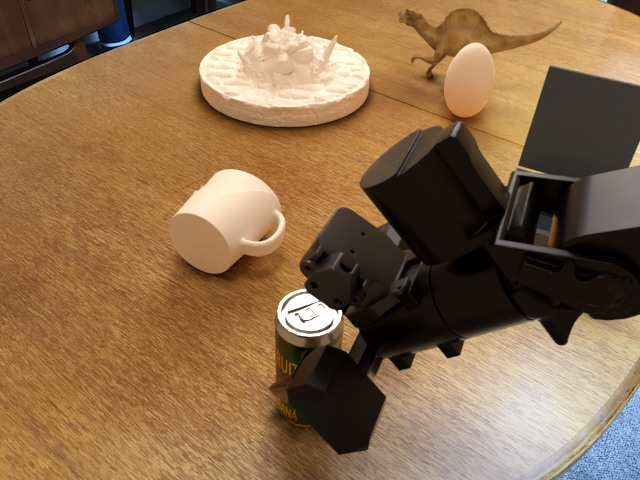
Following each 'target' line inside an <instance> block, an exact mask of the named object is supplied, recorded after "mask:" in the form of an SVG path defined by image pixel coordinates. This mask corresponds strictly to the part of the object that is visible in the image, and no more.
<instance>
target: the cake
mask: <svg viewBox="0 0 640 480" xmlns="http://www.w3.org/2000/svg"><path fill="white" fill-rule="evenodd" d="M290 25H291V19H290V15H289V14H286V15H285V18H284V24H283V27H282V28H281V27H280V26H279V25H278V24H276V23H270V24H269V25H268V26H267V31H266V32H265V34H261V35H253V34H251V36H246V37H241V38H237V39H234V40H230V41H228V42H225V43H224V44H221V45H218V46H216V47H215V48H214V49H212V50H211V51H209V52H208V53H207V54H206V55H205V56H204V57H203V58H202V60H201V62H200V63H199V68H198V74H199V77H200V88H201V93H202V95H203V98H204V99H205V100H206V102H207V103H208V104H209V105H210V106H211V107H212V108H213V109H215V110H217V111H218V112H220V113H222V114H223V115H224V116H228V117H230V118H232V119H234V120H235V119H236V120H238V121H242V122H244V123H249V124H254V125H259V126H267V127H277V128H280V127H282V128H297V127H298V128H300V127H309V126H316V125H321V124H325V123H330V122H333V121H337V120H339V119H342V118H344V117H346V116H349V115H350V114H352V113H354V112H356V111H357V110H358V109H359V108H360V107H361V106H363V104H365V102H366V100H367V98H368V95H369V91H370V76H371V70H370V67H369V65H368V62H367V60H366V58H364V57H363V55H361V54H359V52H355V51H354V49H353V48H351V47H347V46H344V45H342V44H340V43H339V42H337V40H338V35H337V34H336V35H334V37H333V38H332V39H331V40H330V39H326V38H323V37H318V36H315V35H313V36H312V35H309V36H307V35H305V34H304V30H301V32H300V33H297V32H296V31H297V29H296V28H295V27H294V26H290Z"/></svg>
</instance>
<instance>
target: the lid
mask: <svg viewBox="0 0 640 480" xmlns="http://www.w3.org/2000/svg"><path fill="white" fill-rule="evenodd" d="M639 145H640V84H636V83H631V82H627V81H624V80H619V79H614V78H611V77H610V78H609V77H605V76H601V75H597V74H592V73H587V72H583V71H579V70H574V69H570V68H565V67H560V66H558V65H557V66H556V65H552V64H550V65H549V66H548V68H547V72H546V75H545V79H544V82H543V85H542V88H541V91H540V94H539V97H538V100H537V103H536V107H535V110H534V113H533V116H532V119H531V123H530V125H529V129H528V132H527V134H526V137H525V141H524V145H523V148H522V150H521V154H520V157H519V160H518V164H517V166H518V167H522V168H525V169H528V170H532V171H535V172H537V173H543V174H551V175H559V176H567V177H575V178H584V177H588V176H591V175H595V174H600V173H605V172H610V171H614V170H619V169H624V168H629V167H631V163H632V161H633V158H634V156H635V154H636V152H637V150H638V147H639Z"/></svg>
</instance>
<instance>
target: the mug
mask: <svg viewBox="0 0 640 480" xmlns="http://www.w3.org/2000/svg"><path fill="white" fill-rule="evenodd" d="M286 224H287V223H286V219H285V217H284V215H283V210H282V205H281V202H280V200H279V198H278V196H277V194H276V193H275V192H274V190H273V189H271V187H270V186H269V185H268V184H267V183H266V182H264V181H263V180H262V179H260V178H258V177H257V176H255V175H253V174H251V173H249V172H246V171H244V170H240V169H232V168H230V169H229V168H228V169H222V170H219V171H217V172H215V173H214V174H213V175H212V176H211V178H210V179H208V181H207V182H206V183H205V184H204V185H203V184H201V186H200V188H199V190H197V189H195V190H194V191H193V193H192V195H191V196H190V197H189V199H187V201H186V202H185V203H184V204H183V205H182V206H181V208H179V210H178V211H177V212H176V213H175V214H174V215H173V216H172V217H171V219H170V220H169V223H168V235H169V239H170V242H171V244H172V245H173V247H174V249H175V251H176V252H177V253H178V254H179V256H180V257H181V258H182V259H183V260H184V261H186V262H187V263H188V264H189V265H191V266H192V267H194V268H195V269H198V270H199V271H202V272H205V273H207V274H212V275H213V274H214V275H215V274H216V275H217V274H222V273H224V272H226V271H227V270H229V269H230V268H231V267H232V266H233V265H234V264H235V263H236V262H238V260H239V259H240V258H242V257H243V256H244V255H246V256H250V257H258V258H259V257H265V256H268V255H270V254H271V253H273V252H276V250H277V249H279V247H280V246H281V244H282V243H283V241H284V239H285V236H286V230H287V229H286V226H287V225H286ZM275 227H277V229H276V231H275V232H274V233H273V235H271V236H270V237H269V238H266V239H265V240H261V239H263V238H264V237H265V236H266V235H267V234H268V233H269V232H270V231H271V230H272V229H273V228H275ZM260 240H261V241H260Z"/></svg>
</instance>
